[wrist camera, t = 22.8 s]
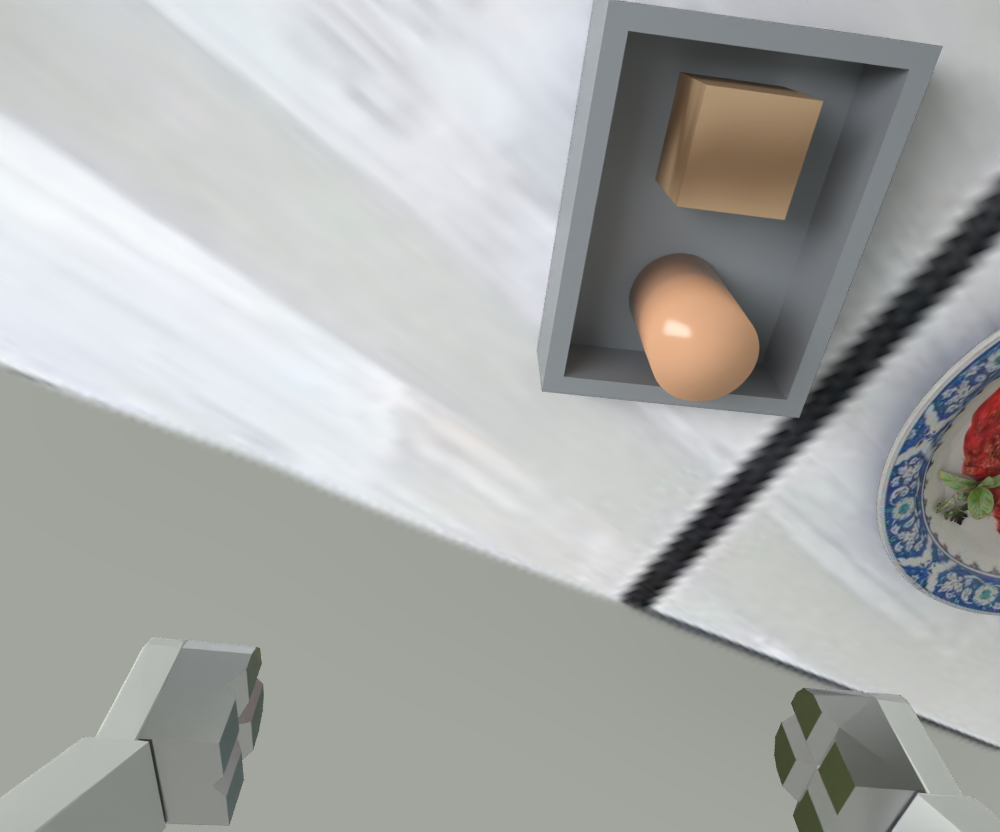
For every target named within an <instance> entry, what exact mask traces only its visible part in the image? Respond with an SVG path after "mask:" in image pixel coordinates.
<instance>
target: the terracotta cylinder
mask: <svg viewBox="0 0 1000 832" xmlns="http://www.w3.org/2000/svg"><path fill="white" fill-rule="evenodd" d="M629 307H630V311H631V315H632V317H633V320H634V323H635V325H636V328H637V331H638V334H639V336H640V339H641V342H642V345H643V347H644V350H645V353H646V355H647V358H648V361H649V364H650V366H651V369H652V372H653V374H654V377H655V379H656V381H657V382H658V384H659V385H660V386H661V387H662V388H663V389H664V390H665V391H666V392H667V393H669V394H670V395H672V396H674V397H676V398H679V399H682V400H686V401H695V402H700V401H709V400H713V399H717V398H720V397H722V396H724V395H727V394H728V393H730V392H732V391H733V390H735V389H736V388H738V387H739V386H740V385H741V384H742V383H743V382H744V381H745V380H746V379H747V378H748V376H749V375H750V374H751V372H752V371H753V369H754V367H755V365H756V362H757V359H758V355H759V340H758V335H757V333H756V330H755V328H754V327H753V325H752V323H751V322H750V321H749V319H748V318H747V316H746V315H745V313H744V312H743V310H742V309H741V307H740V306H739V305H738V303H737V302H736V300H735V299H734V297H733V296H732V294H731V293H730V292H729V290H728V289H727V287H726V286H725V284H724V283H723V281H722V280H721V279H720V277H719V276H718V274H717V273H716V271H715V270H714V269H713V267H712V266H711V265H710V264H709V263H708V262H707V261H705V260H703V259H702V258H700V257H698V256H695V255H692V254H686V253H676V254H670V255H666V256H663V257H660V258H658V259H656V260H654V261H653V262H651V263H650V264H648V265H647V266H646V267H645V268H644V269H643V270H642V271H641V272H640V273H639V274H638V276H637V277H636V279H635V281H634V282H633V285H632V287H631V290H630V295H629Z"/></svg>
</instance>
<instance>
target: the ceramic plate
mask: <svg viewBox="0 0 1000 832" xmlns="http://www.w3.org/2000/svg"><path fill="white" fill-rule="evenodd" d="M877 520H878V527H879V533H880V536H881V539H882V542H883V545H884V548H885V550H886V552H887V554H888V556H889V558H890V559H891V561H892V563H893V564H894V566H895V567H896V569H897V570H898V571H899V572H900V574H901V575H902V576H903V577H904V578H905V579H906V580H907V581H908V582H909V583H911V584H912V585H913V586H914V587H916V588H917V589H918V590H919V591H921V592H922V593H924V594H926V595H927V596H929V597H931V598H933V599H935V600H937V601H939V602H941V603H944V604H947V605H949V606H952V607H955V608H958V609H962V610H966V611H970V612H974V613H979V614H988V615H1000V329H999V330H998V331H996V332H995V333H993V334H992V335H990V336H989V337H987V338H986V339H985V340H983V341H982V342H980V343H979V344H978V345H976V346H975V347H974V348H973V349H972V350H971V351H970V352H968V353H967V354H966V355H965V356H964V357H963V358H961V359H960V360H959V361H958V362H957V363H956V364H954V365H953V366H952V367H951V368H950V369H949V370H948V371H947V372H946V373H945V374H944V375H943V376H942V377H941V378H940V379H939V380H938V381H937V382H936V383H935V384H934V385H933V387H932V388H931V389H930V390H929V391H928V392H927V394H926V395H925V396H924V397H923V398H922V400H921V401H920V402H919V403H918V405H917V406H916V408H915V409H914V410H913V412H912V413H911V415H910V416H909V417H908V419H907V420H906V422H905V424H904V425H903V427H902V429H901V430H900V432H899V434H898V436H897V437H896V439H895V441H894V444H893V446H892V448H891V450H890V452H889V454H888V457H887V460H886V463H885V465H884V468H883V471H882V475H881V479H880V484H879V488H878V497H877Z"/></svg>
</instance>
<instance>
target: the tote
mask: <svg viewBox="0 0 1000 832" xmlns="http://www.w3.org/2000/svg"><path fill="white" fill-rule="evenodd" d="M942 47H943V46H938V45H931V44H924V43H918V42H911V41H904V40H897V39H890V38H883V37H876V36H869V35H862V34H855V33H847V32H840V31H833V30H826V29H819V28H812V27H805V26H797V25H790V24H783V23H776V22H769V21H762V20H755V19H747V18H740V17H733V16H726V15H719V14H712V13H705V12H697V11H690V10H683V9H676V8H669V7H662V6H655V5H647V4H640V3H633V2H626V1H619V0H594V1H593V7H592V13H591V20H590V26H589V32H588V38H587V44H586V51H585V57H584V63H583V69H582V75H581V81H580V88H579V94H578V100H577V106H576V112H575V119H574V125H573V131H572V137H571V143H570V149H569V156H568V162H567V168H566V174H565V180H564V187H563V193H562V199H561V205H560V211H559V217H558V224H557V230H556V236H555V242H554V248H553V254H552V261H551V267H550V273H549V279H548V285H547V292H546V298H545V304H544V310H543V316H542V322H541V329H540V335H539V341H538V347H537V354H538V363H539V371H540V380H541V389H542V392H552V393H562V394H572V395H581V396H591V397H601V398H611V399H620V400H630V401H640V402H650V403H659V404H669V405H679V406H689V407H698V408H708V409H718V410H728V411H737V412H747V413H757V414H767V415H776V416H786V417H796V418H799V417H800V414H801V411H802V409H803V406H804V404H805V401H806V398H807V396H808V393H809V391H810V388H811V386H812V383H813V380H814V378H815V375H816V373H817V370H818V367H819V365H820V362H821V360H822V357H823V355H824V352H825V349H826V347H827V344H828V342H829V339H830V336H831V334H832V331H833V329H834V326H835V324H836V321H837V318H838V316H839V313H840V311H841V308H842V305H843V303H844V300H845V298H846V295H847V292H848V290H849V287H850V285H851V282H852V280H853V277H854V274H855V272H856V269H857V267H858V264H859V261H860V259H861V256H862V254H863V251H864V249H865V246H866V243H867V241H868V238H869V236H870V233H871V230H872V228H873V225H874V223H875V220H876V218H877V215H878V212H879V210H880V207H881V205H882V202H883V199H884V197H885V194H886V192H887V189H888V186H889V184H890V181H891V179H892V176H893V174H894V171H895V168H896V166H897V163H898V161H899V158H900V155H901V153H902V150H903V148H904V145H905V143H906V140H907V137H908V135H909V132H910V130H911V127H912V124H913V122H914V119H915V117H916V114H917V112H918V109H919V106H920V104H921V101H922V99H923V96H924V93H925V91H926V88H927V86H928V83H929V80H930V78H931V75H932V73H933V70H934V68H935V65H936V62H937V60H938V57H939V55H940V52H941V49H942ZM680 72H684V73H691V74H698V75H706V76H713V77H720V78H727V79H734V80H741V81H749V82H756V83H763V84H770V85H777V86H783V87H786V88H789V89H791V90H794V91H797V92H800V93H802V94H805V95H808V96H811V97H813V98H816V99H819V100H822V101H823V104H822V107H821V110H820V113H819V116H818V119H817V122H816V125H815V128H814V131H813V135H812V138H811V141H810V144H809V147H808V150H807V153H806V156H805V159H804V162H803V165H802V168H801V171H800V174H799V177H798V180H797V183H796V187H795V190H794V193H793V196H792V199H791V202H790V205H789V208H788V211H787V214H786V217H785V220H781V219H773V218H765V217H757V216H749V215H741V214H733V213H725V212H718V211H710V210H702V209H694V208H686V207H678V206H676V205H675V204H674V203H673V201H672V200H671V199H670V198H669V196H668V195H667V194H666V193H665V191H664V190H663V189H662V188H661V186H660V185H659V184H658V183H657V182H656V180H655V179H656V175H657V170H658V166H659V161H660V157H661V153H662V148H663V144H664V140H665V135H666V131H667V127H668V122H669V118H670V113H671V109H672V105H673V100H674V96H675V92H676V87H677V83H678V78H679V74H680ZM676 253H686V254H692V255H695V256H698V257H700V258H702V259H703V260H705V261H707V262H708V263H709V264H710V265H711V266H712V267H713V269H714V270H715V271H716V273H717V274H718V276H719V277H720V279H721V280H722V281H723V283H724V284H725V286H726V287H727V289H728V290H729V292H730V293H731V294H732V296H733V297H734V299H735V300H736V302H737V303H738V305H739V306H740V307H741V309H742V310H743V312H744V313H745V315H746V316H747V318H748V319H749V321H750V322H751V323H752V325H753V327H754V328H755V330H756V333H757V335H758V340H759V355H758V359H757V362H756V365H755V367H754V369H753V371H752V372H751V374H750V375H749V376H748V378H747V379H746V380H745V381H744V382H743V383H742V384H741V385H740V386H739V387H738V388H736V389H735V390H733V391H732V392H730V393H728V394H727V395H724V396H722V397H720V398H717V399H713V400H709V401H700V402H695V401H686V400H682V399H679V398H676V397H674V396H672V395H670V394H669V393H667V392H666V391H665V390H664V389H663V388H662V387H661V386H660V385H659V384H658V382H657V381H656V379H655V377H654V374H653V372H652V369H651V366H650V364H649V361H648V358H647V355H646V353H645V350H644V347H643V345H642V342H641V339H640V336H639V334H638V331H637V328H636V325H635V323H634V320H633V317H632V315H631V311H630V307H629V295H630V290H631V287H632V285H633V282H634V281H635V279H636V277H637V276H638V274H639V273H640V272H641V271H642V270H643V269H644V268H645V267H646V266H647V265H648V264H650V263H651V262H653V261H654V260H656V259H658V258H660V257H663V256H666V255H670V254H676Z"/></svg>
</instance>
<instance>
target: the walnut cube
mask: <svg viewBox="0 0 1000 832" xmlns="http://www.w3.org/2000/svg"><path fill="white" fill-rule="evenodd" d="M822 104H823V101H822V100H819V99H816V98H813V97H811V96H808V95H805V94H802V93H800V92H797V91H794V90H791V89H789V88H786V87H783V86H777V85H770V84H763V83H756V82H749V81H741V80H734V79H727V78H720V77H713V76H706V75H698V74H691V73H684V72H680V74H679V78H678V83H677V87H676V92H675V96H674V100H673V105H672V109H671V113H670V118H669V122H668V127H667V131H666V135H665V140H664V144H663V148H662V153H661V157H660V161H659V166H658V170H657V175H656V179H655V180H656V182H657V183H658V184H659V185H660V186H661V188H662V189H663V190H664V191H665V193H666V194H667V195H668V196H669V198H670V199H671V200H672V201H673V203H674V204H675V205H676V206H678V207H686V208H694V209H702V210H710V211H718V212H725V213H733V214H741V215H749V216H757V217H765V218H773V219H781V220H785V217H786V214H787V211H788V208H789V205H790V202H791V199H792V196H793V193H794V190H795V187H796V183H797V180H798V177H799V174H800V171H801V168H802V165H803V162H804V159H805V156H806V153H807V150H808V147H809V144H810V141H811V138H812V135H813V131H814V128H815V125H816V122H817V119H818V116H819V113H820V110H821V107H822Z"/></svg>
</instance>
